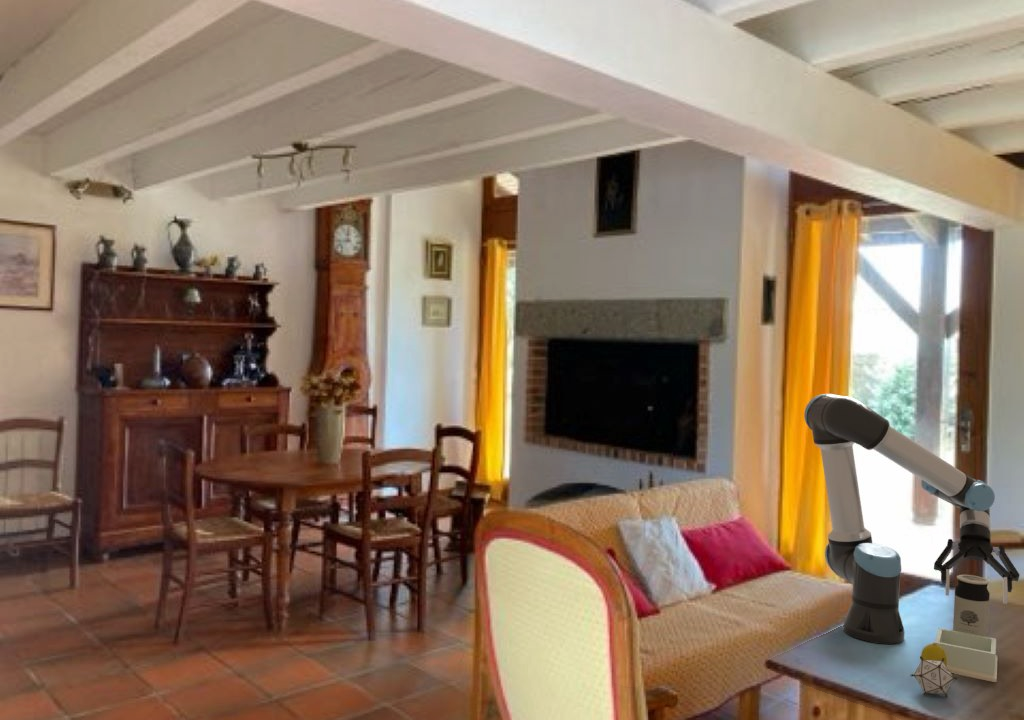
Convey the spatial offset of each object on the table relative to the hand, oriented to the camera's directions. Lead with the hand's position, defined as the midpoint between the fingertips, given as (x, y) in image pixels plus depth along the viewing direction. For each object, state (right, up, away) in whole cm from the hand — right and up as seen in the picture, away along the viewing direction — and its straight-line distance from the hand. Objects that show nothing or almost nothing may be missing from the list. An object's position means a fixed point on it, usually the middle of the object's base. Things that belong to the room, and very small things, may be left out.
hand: (976, 597), depth 223 cm
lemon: (-23, -12, -23) cm, 35 cm away
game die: (-28, -13, -34) cm, 46 cm away
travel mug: (-3, -13, -2) cm, 13 cm away
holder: (-11, -12, -14) cm, 22 cm away
